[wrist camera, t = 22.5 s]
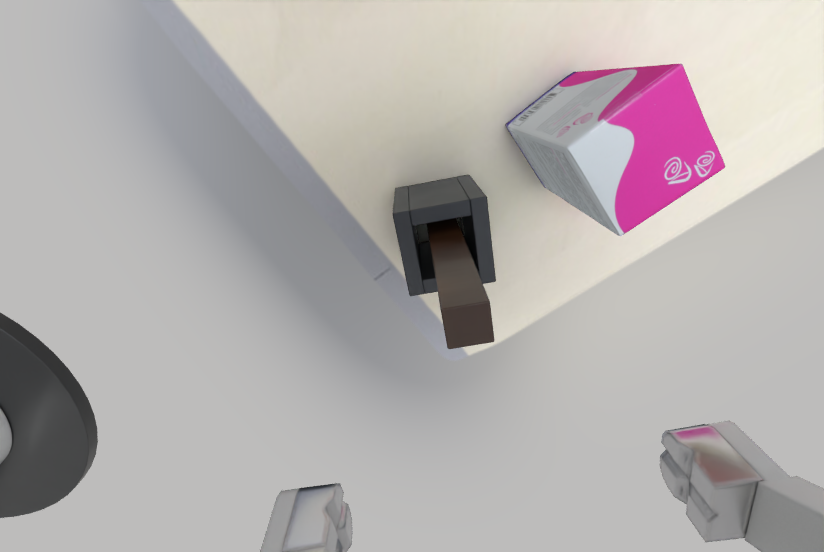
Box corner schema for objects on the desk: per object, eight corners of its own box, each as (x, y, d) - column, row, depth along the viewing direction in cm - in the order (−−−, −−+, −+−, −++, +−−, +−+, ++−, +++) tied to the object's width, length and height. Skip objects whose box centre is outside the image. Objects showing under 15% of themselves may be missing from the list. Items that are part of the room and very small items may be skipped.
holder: (408, 256, 33) (409, 296, 26) (394, 188, 31) (392, 213, 24) (478, 244, 32) (496, 281, 26) (469, 174, 30) (486, 196, 24)
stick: (428, 232, 32) (448, 349, 17) (424, 207, 31) (440, 309, 17) (453, 227, 32) (494, 342, 17) (450, 202, 31) (489, 301, 16)
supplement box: (545, 190, 31) (618, 241, 20) (503, 124, 29) (559, 143, 18) (615, 141, 29) (732, 168, 19) (576, 68, 27) (682, 53, 17)
